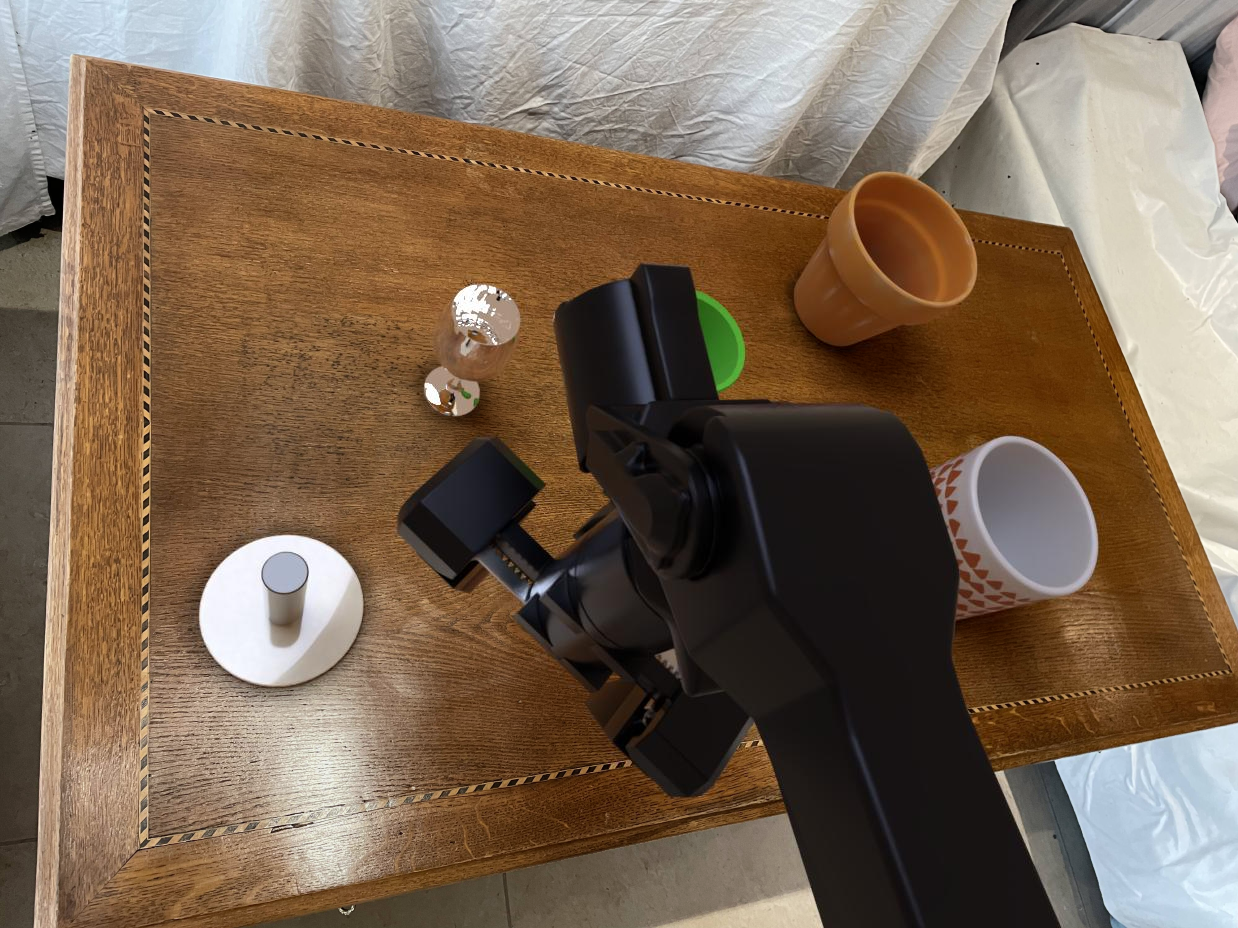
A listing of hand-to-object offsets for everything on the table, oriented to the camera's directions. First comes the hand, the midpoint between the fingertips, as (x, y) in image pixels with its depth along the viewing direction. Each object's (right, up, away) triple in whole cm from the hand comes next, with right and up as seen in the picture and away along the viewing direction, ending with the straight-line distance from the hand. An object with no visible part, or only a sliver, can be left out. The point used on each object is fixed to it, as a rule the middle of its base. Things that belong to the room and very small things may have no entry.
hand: (533, 640), depth 44 cm
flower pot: (+27, +26, +38) cm, 53 cm away
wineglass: (-9, +16, +19) cm, 26 cm away
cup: (+6, +15, +25) cm, 30 cm away
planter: (+34, +1, +31) cm, 47 cm away
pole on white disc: (-18, 0, +8) cm, 19 cm away
